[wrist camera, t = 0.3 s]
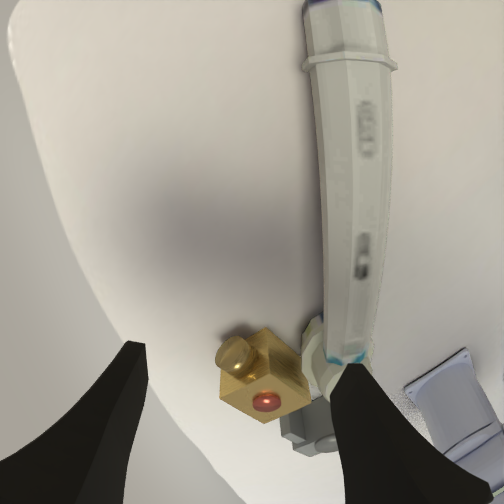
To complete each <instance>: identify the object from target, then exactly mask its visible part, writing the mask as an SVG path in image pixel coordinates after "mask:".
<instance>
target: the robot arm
mask: <svg viewBox="0 0 504 504" xmlns="http://www.w3.org/2000/svg"><path fill="white" fill-rule="evenodd" d="M148 380H149V379H148V369H147V359H146V348H145V343H139V342H134V341H127V342H125V344H124V345H123V347H122V348H121V350H120V351H119V352H118V354H117V355H116V357H115V358H114V359H113V361H112V362H111V363H110V364H109V366H108V367H107V368H106V370H105V371H104V372H103V373H102V374H101V376H100V377H99V378H98V379H97V380H96V382H95V383H94V384H93V385H92V386H91V388H90V389H89V390H88V391H87V392H86V393H85V394H84V395H83V396H82V397H81V398H80V400H79V401H78V402H77V403H76V404H75V405H74V406H73V407H72V408H71V409H70V410H69V411H68V412H67V413H66V414H65V415H64V416H63V417H61V418H60V419H59V420H58V421H57V422H56V423H55V424H54V425H52V426H51V427H50V428H49V429H48V430H46V431H45V432H44V433H43V434H41V435H40V436H39V437H37V438H36V439H35V440H33V441H32V442H30V443H29V444H27V445H26V446H24V447H23V448H22V449H20V450H19V451H17V452H16V453H14V454H12V455H11V456H9V457H7V458H5V459H3V460H1V461H0V504H123V497H124V487H125V479H126V472H127V465H128V461H129V456H130V452H131V448H132V445H133V441H134V438H135V434H136V431H137V427H138V424H139V420H140V417H141V413H142V410H143V406H144V402H145V397H146V391H147V385H148ZM404 391H405V393H406V395H407V396H408V397H409V398H410V399H411V400H412V402H413V403H414V404H415V405H416V406H417V408H418V409H419V410H420V411H421V413H422V416H423V418H424V421H425V423H426V426H427V428H428V431H429V433H430V436H431V439H432V441H433V444H434V446H432V445H431V444H430V443H429V442H428V441H427V440H426V439H425V438H424V437H423V436H422V435H421V434H420V433H419V432H418V431H417V430H416V429H415V428H414V427H413V426H412V425H411V424H410V423H409V421H408V420H407V419H406V418H405V417H404V416H403V415H402V413H401V412H400V411H399V410H398V409H397V407H396V406H395V405H394V404H393V402H392V401H391V400H390V399H389V397H388V396H387V395H386V393H385V392H384V391H383V390H382V388H381V387H380V386H379V384H378V383H377V382H376V380H375V379H374V378H373V376H372V375H371V374H370V372H369V371H368V370H367V368H366V367H365V366H364V365H363V363H348V364H347V366H346V368H345V370H344V371H343V373H342V375H341V377H340V378H339V380H338V382H337V384H336V385H335V387H334V389H333V390H332V392H331V394H330V408H331V418H332V423H333V428H334V432H335V437H336V441H337V446H338V450H339V455H340V459H341V464H342V469H343V475H344V487H345V504H504V491H503V492H502V493H500V494H498V495H497V496H496V497H493V494H492V493H494V492H496V491H497V490H499V489H500V488H502V487H503V486H504V423H503V424H502V423H501V422H500V421H499V419H498V417H497V415H496V413H495V411H494V409H493V408H492V406H491V404H490V402H489V400H488V398H487V396H486V394H485V392H484V391H483V389H482V387H481V385H480V383H479V382H478V380H477V378H476V375H475V371H474V368H473V364H472V361H471V357H470V354H469V351H468V349H463V350H462V351H460V352H459V353H458V354H456V355H455V356H453V357H452V358H450V359H449V360H448V361H446V362H445V363H443V364H442V365H440V366H439V367H437V368H436V369H434V370H433V371H431V372H430V373H428V374H426V375H425V376H423V377H422V378H420V379H418V380H417V381H415V382H414V383H412V384H410V385H409V386H407V387H406V388H405V389H404Z"/></svg>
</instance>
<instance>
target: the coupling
mask: <svg viewBox="0 0 504 504" xmlns="http://www.w3.org/2000/svg"><path fill="white" fill-rule="evenodd" d="M280 428H281V436H282V437H284V438H286V439H288V440H290V441H292V445H293V450H294V451H296V452H299V453H301V454H303V455H306V456H308V457H312V456H314V455H317V454H320V453H329V452H335V451H339V450H338V446H337V441H336V437H335V432H334V428H333V423H332V418H331V408H330V402H329V401H327V400H326V399H325V397H324V396H322V397H320V398H318V399H316V400H314V401H312V403H310V404H308V405H306V406H304V407H302V408H300V409H299V410H297V411H295V412H291V413H288V414H286V415H284V416H282V417H280Z"/></svg>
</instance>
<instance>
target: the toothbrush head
mask: <svg viewBox="0 0 504 504" xmlns="http://www.w3.org/2000/svg"><path fill="white" fill-rule="evenodd" d="M302 12H303V19H304V27H305V35H306V43H307V52H308V58H307V59H306V60H305V61H304V63H303V64H302V71H305V72H309V73H310V79H311V87H312V96H313V105H314V115H315V125H316V136H317V148H318V161H319V175H320V191H321V211H322V235H323V277H324V312H322V313H320V314H319V315H317V316H316V317H314V318H312V319H311V321H310V323H309V325H308V327H307V328H306V330H305V332H304V333H302V348H301V369H302V373H303V374H304V375H305V377H306V378H307V380H308V381H309V382H310V384H311V385H314V386H317V387H319V390H320V392H321V393H322V394H323V396H324V397H325V399H326V400H327V401H329V402H330V394H331V392H332V390H333V389H334V387H335V385H336V384H337V382H338V380H339V378H340V377H341V375H342V373H343V371H344V370H345V368H346V366H347V364H348V363H363V365H364V366H365V367H366V368H367V370H368V371H369V372H370V374H371V375H372V371H373V370H372V367H371V364H370V363H371V360H372V354H373V349H374V343H373V341H372V338H371V336H372V331H373V326H374V320H375V315H376V310H377V304H378V298H379V292H380V285H381V279H382V272H383V265H384V257H385V249H386V240H387V230H388V220H389V208H390V194H391V176H392V144H393V116H392V84H391V72H392V71H394V70H397V69H398V66H397V63H396V62H395V61H393V60H392V59H390V58H389V52H388V45H387V38H386V32H385V26H384V20H383V14H382V9H381V4H380V3H379V2H378V1H377V0H305V2H304V4H303V6H302Z"/></svg>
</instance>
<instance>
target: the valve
mask: <svg viewBox="0 0 504 504" xmlns="http://www.w3.org/2000/svg"><path fill="white" fill-rule="evenodd" d="M215 363H216V365H217V366H218V367H219V368H221V377H220V396H219V399H221V400H223V401H224V402H226V403H228V404H230V405H231V406H233V407H235V408H236V409H238V410H240V411H242V412H243V413H245V414H247V415H249V416H251V417H252V418H254V419H256V420H258V421H260V422H262V423H263V424H265V423H267V422H270V421H272V420H275V419H277V418H279V417H282V416H284V415H286V414H288V413H291V412H295V411H297V410H299V409H300V408H302V407H304V406H306V405H308V404H310V403H312V402H311V396H310V391H309V386H308V380H307V378H306V377H305V375H304V374H303V373H302V369H301V357H300V356H299V355H298V354H296V353H295V352H294V351H293V350H292V349H291V348H289V347H288V346H287V345H286V344H285V343H284V342H282V341H281V340H280V339H279V338H278V337H277V336H276V335H274V334H273V333H272V332H271V331H270V330H269V329H268V328H266V327H265V328H263V329H262V330H260V331H258V332H257V333H255V334H254V335H252V336H250V337H249V338H247V339H245V340H244V339H243V338H241V337H240V336H233V337H231V338H229V339H227V340H226V341H225V342H224V343H223V344H222V345H221V347H220V348H219V350H218V351H217V354H216V357H215Z"/></svg>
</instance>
